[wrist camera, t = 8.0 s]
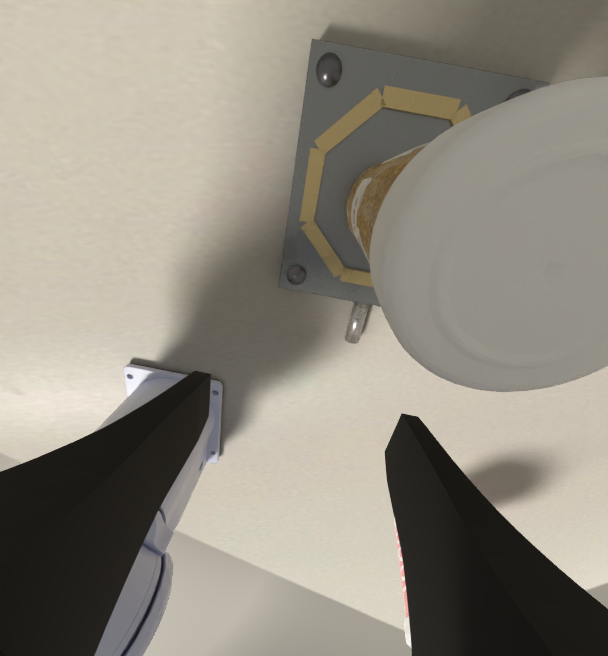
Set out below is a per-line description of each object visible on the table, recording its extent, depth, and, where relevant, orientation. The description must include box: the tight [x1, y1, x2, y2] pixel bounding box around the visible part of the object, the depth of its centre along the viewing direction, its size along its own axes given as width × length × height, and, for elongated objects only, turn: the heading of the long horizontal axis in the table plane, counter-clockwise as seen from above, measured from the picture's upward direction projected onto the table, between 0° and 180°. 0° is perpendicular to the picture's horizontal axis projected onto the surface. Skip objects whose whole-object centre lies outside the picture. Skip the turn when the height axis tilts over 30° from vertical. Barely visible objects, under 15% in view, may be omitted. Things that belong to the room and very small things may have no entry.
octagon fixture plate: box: [279, 39, 550, 344], centre depth 17 cm, size 15×11×1 cm
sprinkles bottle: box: [346, 76, 608, 392], centre depth 10 cm, size 5×5×14 cm
